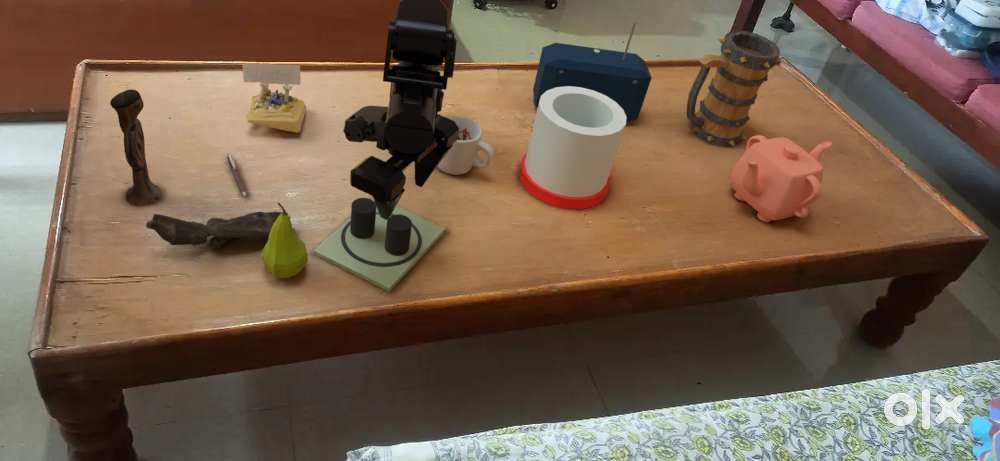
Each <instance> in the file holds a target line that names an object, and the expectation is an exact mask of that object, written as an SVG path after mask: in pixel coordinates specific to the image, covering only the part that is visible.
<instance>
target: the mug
mask: <svg viewBox="0 0 1000 461" xmlns="http://www.w3.org/2000/svg"><path fill="white" fill-rule="evenodd" d="M717 41H718V42H719V43H720V44H721V45H720V55H717V54H705V55H703V56H701V57H700V58H698V61H699V63H700V65H701V67H700V69H699V72H698V74H697V76H696V77H695V79H694V80H693V81H694V82H693V83H692V86H691V88H690V90H689V93H688V98H687V103H686V118H687V120H688V121H690V125H691V126H690V128H691V131H692V133H693V134H694V135H696V136H697V137H698V138H699V139H701V140H702V141H704V142H706V143H709V144H711V145H715V146H719V147H735V146H736V145H738V144H739V143H740V142H741V140H747V139H748V138H747V137H746V136H745V135H744V133H745V131H744V128H745V125H746V124H747V123H748V122H750V120H751V118H750V117H749V112H750V110H751V108H752V105H754V104H755V103H756V99H757V98H758V97H757V96H758V91H759V89H760V87H761V85H762V84H763V83H764V82H767V81H769V78H768V77H769V75H768V73H769V72H770V70H772V69H773V68H774V67H775V65H776V63H782V62H784V61H783V60H782V59H781V58H780V55H781V51H780V48H779V46H778V45H777V44H776V43H775V42H773V41H772V40H770V39H769V38H767V37H765V36H763V35H760V34H758V33H754V32H750V31H747V30H733V31H729V32H727V33H725V35H724V38H718V39H717ZM711 68H716V71H715V74H714V76H713V77H712V78H711V80H710V82H709V85H708V86H707V88H708V91H707V93H706V96H705V98H703V99H701V100H700V101H699V109H698V111H697V112H696V106H697V101H698V96H699V94H700V92H701V89H702V88H703V85H704V83H705V82H706V80H707V78H708V75H709V73H710V70H711Z"/></svg>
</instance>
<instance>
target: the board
mask: <svg viewBox="0 0 1000 461" xmlns="http://www.w3.org/2000/svg"><path fill="white" fill-rule="evenodd" d="M370 199H371V200H373V201H374V199H373V197H372V198H370ZM374 202H375V201H374ZM398 214H399V215H405V216H407V217H408V218H410V220H411V221H412V228H411V236H410V245H409V250H408V252H407V253H406V254H404V255H401V256H395V255H391V254H389V253H388V252H387V251H386V250H385V238H386V227H387V220H388V219H387V220H385V219H383V218H381V217H380V215H379V212H378V209H377V207H376V219H375V231H374V234H373V236H371V237H370V238H366V239H360V238H356V237H354V236H353V235H352V234H351V232H350V225H351V216H350V217H349V218H348V219H347V220H346V221H344V222H343V223H342V224H341V225H340V226H339V227H338V228H336V229H335V230H334V231H333V232H332V233H331V234H330V235H328V236H327V238H325V239H324V240H323V241H322V242H321V243H320V244H318V245H317V246H316V247H315V248H314V249H313V250H312V251H313V252H312V254H313V255H314V256H316V257H318V258H320V259H322V260H324V261H326V262H328V263H330V264H333V265H334V266H336V267H338V268H340V269H342V270H344V271H346V272H348V273H350V274H351V275H354V276H356V277H358V278H360V279H362V280H364V281H366V282H368V283H370V284H372V285H374V286H376V287H378V288H379V289H382V290H384V291H386V292H389V293H390V292H391V290H392V289H393V288H395V286H396V285H397V284H398V283H399V282H400V281H401V280H402V279H403V277H404V276H406V275H407V273H408V272H409V271H410V270H411V269H412V268H413V267H414V266H415V265H416V263H417V262H418V261H419V260H420V259H421V258H422V257H423V256H424V255H425V254H426V253H427V252H428V251H429V250H430V249H431V248H432V246H433V245H434V244H435V243H436V242H437V241H438V240H439V239H440V238H441V237H442V236H443V234H445V232H446V228H445V227H444V226H441V225H440V224H437V223H435V222H432V221H431V220H428V219H426V218H424V217H423V216H420V215H417V214H416V213H413V212H411V211H410V210H407V209H405V208H403V207H401V206H398V205H396V207H395V209H394V210H393V212H392V214H391V215H390V217H391V216H393V215H398Z"/></svg>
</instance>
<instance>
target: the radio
mask: <svg viewBox="0 0 1000 461" xmlns="http://www.w3.org/2000/svg"><path fill="white" fill-rule="evenodd" d="M636 24H637V22H633V24H632V26H631V30H630V32H629V37H628V40H627V44H626V46H625V49H624V51H619V50H611V49H604V48H597V47H590V46H583V45H575V44H569V43H560V42H554V43H551V44H549V45H546V46H543V47H542V48H541V53H540V56H539V57H540V58H539V61H538V66H537V70H536V75H535V80H534V84H533V88H532V93H533V99H534V106H535V108H537V109H538V105H539V101H540V98H541V95H543V94H544V93H545V92H546V91H547V90H550V89H553V88H556V87H565V86H571V87H581V88H586V89H590V90H594V91H596V92H598V93H601V94H603V95H606V96H607V97H609V98H610V99H612V100H613V101H615V102H616V103H617V104H618V105H619V106H620V107H621V108H622V109H623V110H624V113H625V115H626V117H627V118H626V124H629V123H631V122H634V121H637V120H639V116H640V113H641V111H642V107H643V105H644V101H645V99H646V96H647V93H648V90H649V87H650V85H651V82H652V75H651V72H650V69H649V67H648V64H647V62H646V60H644V59H643V58H642V57H640V55H639V54H637V53H632V52H628V50H629V47H630V43H631V40H632V37H633V34H634V30H635V28H636Z"/></svg>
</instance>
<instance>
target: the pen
mask: <svg viewBox="0 0 1000 461" xmlns="http://www.w3.org/2000/svg"><path fill="white" fill-rule="evenodd" d="M226 158H227V161H228V163H229V166H230V168H231V171H232V173H233V176H234V178H235V180H236V183H237V185H238V188H239V190H240V192H241V195H242V196H243V197H244V198H246V197H247V190H246V188H245V186H244V184H243V181H242V178H241V176H240V172H239V170H238V167H237V165H236V163H235V161H234V159H233V156H232V154H230V153H227V156H226Z"/></svg>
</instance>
